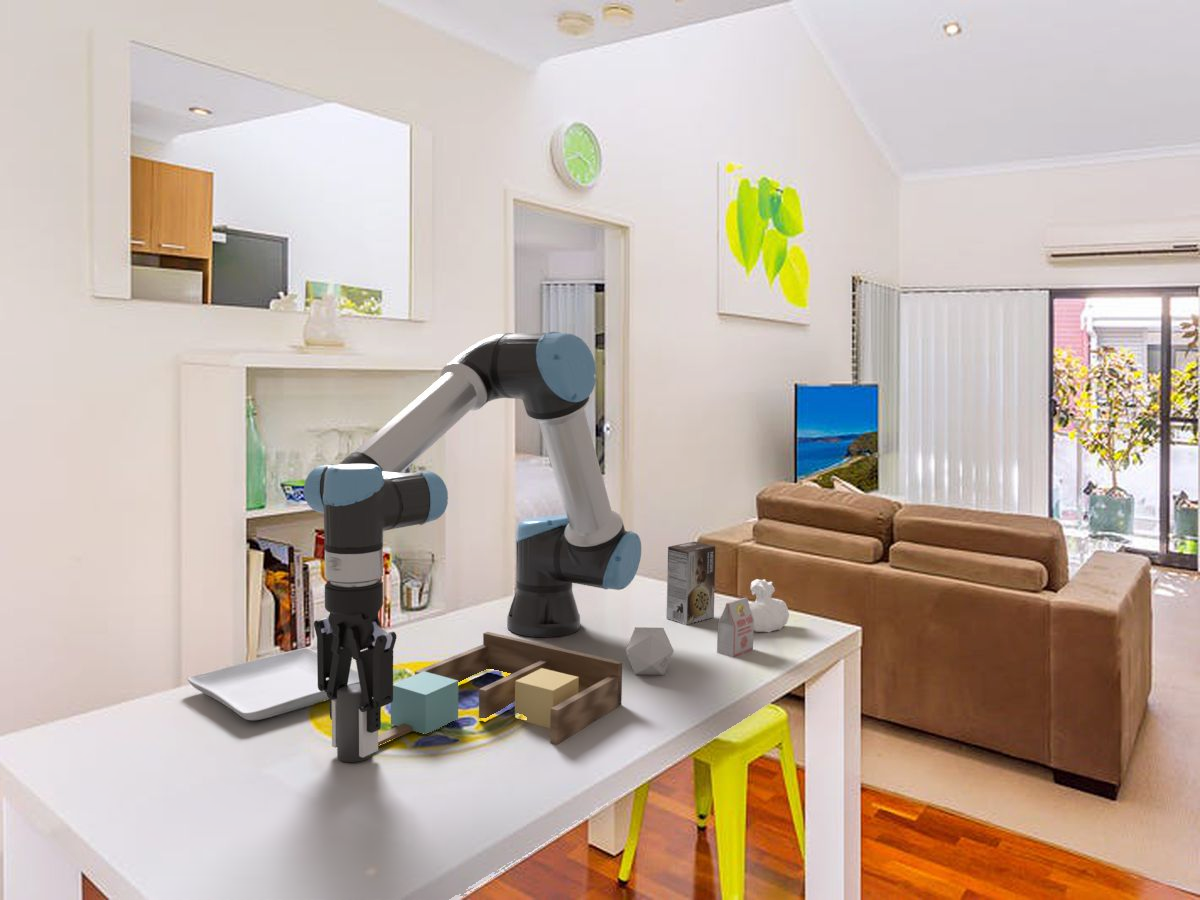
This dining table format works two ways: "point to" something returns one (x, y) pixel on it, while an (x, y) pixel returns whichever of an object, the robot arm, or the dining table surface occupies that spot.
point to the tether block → (398, 711)
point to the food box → (690, 582)
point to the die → (649, 651)
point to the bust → (767, 608)
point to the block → (543, 694)
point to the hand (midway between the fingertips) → (355, 747)
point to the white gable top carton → (735, 629)
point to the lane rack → (526, 657)
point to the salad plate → (267, 684)
